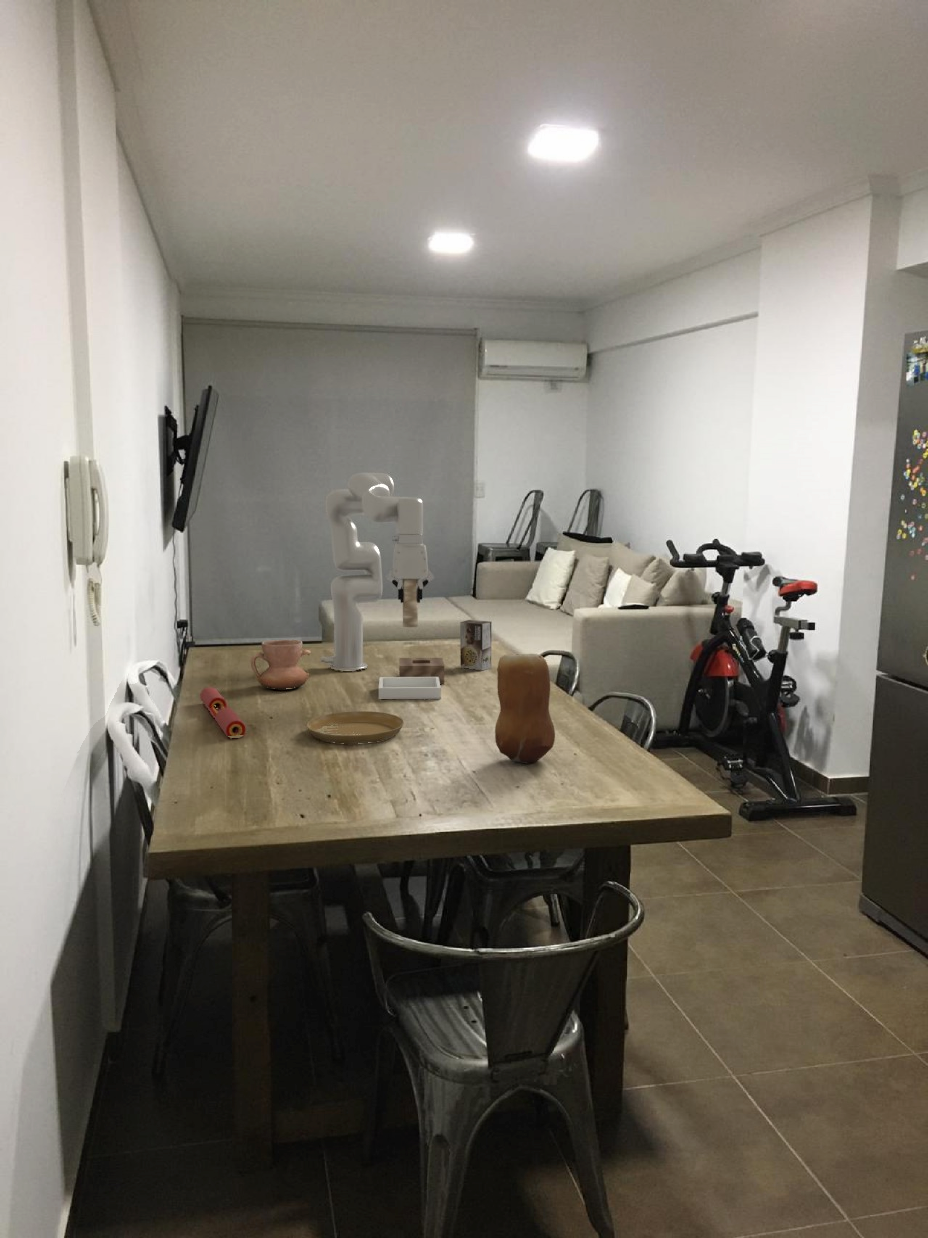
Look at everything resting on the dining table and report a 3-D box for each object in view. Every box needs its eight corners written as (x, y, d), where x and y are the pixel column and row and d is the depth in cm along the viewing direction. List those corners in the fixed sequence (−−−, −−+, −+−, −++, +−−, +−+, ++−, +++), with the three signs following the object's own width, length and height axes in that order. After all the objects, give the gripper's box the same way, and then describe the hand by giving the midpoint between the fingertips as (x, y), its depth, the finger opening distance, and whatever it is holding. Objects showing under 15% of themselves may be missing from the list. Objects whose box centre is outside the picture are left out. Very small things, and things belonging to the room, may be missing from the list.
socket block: (399, 684, 301) (399, 665, 300) (399, 676, 315) (399, 657, 314) (444, 684, 302) (444, 665, 301) (442, 675, 316) (442, 657, 315)
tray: (378, 700, 280) (378, 688, 279) (379, 688, 296) (379, 677, 295) (440, 699, 281) (440, 687, 281) (438, 688, 297) (438, 676, 296)
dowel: (402, 627, 284) (402, 576, 282) (402, 625, 288) (402, 575, 286) (417, 627, 284) (417, 576, 282) (417, 625, 289) (417, 575, 287)
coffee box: (492, 668, 330) (492, 621, 328) (482, 671, 324) (482, 623, 322) (469, 665, 335) (469, 619, 332) (459, 668, 329) (459, 621, 327)
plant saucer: (312, 751, 227) (312, 737, 227) (301, 726, 250) (301, 713, 250) (413, 744, 234) (413, 731, 233) (393, 721, 257) (393, 708, 256)
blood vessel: (246, 739, 237) (245, 719, 237) (225, 741, 235) (225, 721, 235) (218, 703, 275) (217, 686, 275) (200, 704, 274) (199, 687, 273)
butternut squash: (518, 750, 228) (519, 645, 225) (565, 760, 220) (568, 652, 217) (481, 762, 218) (482, 653, 214) (530, 774, 209) (532, 660, 206)
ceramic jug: (310, 681, 305) (308, 637, 303) (313, 690, 291) (311, 644, 289) (251, 685, 301) (249, 640, 299) (252, 694, 287) (250, 647, 285)
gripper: (381, 540, 279) (381, 603, 281) (439, 540, 280) (439, 603, 282) (381, 539, 286) (381, 600, 288) (438, 539, 287) (438, 600, 290)
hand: (410, 601), depth 285 cm, fingers closed on dowel, 4 cm apart
